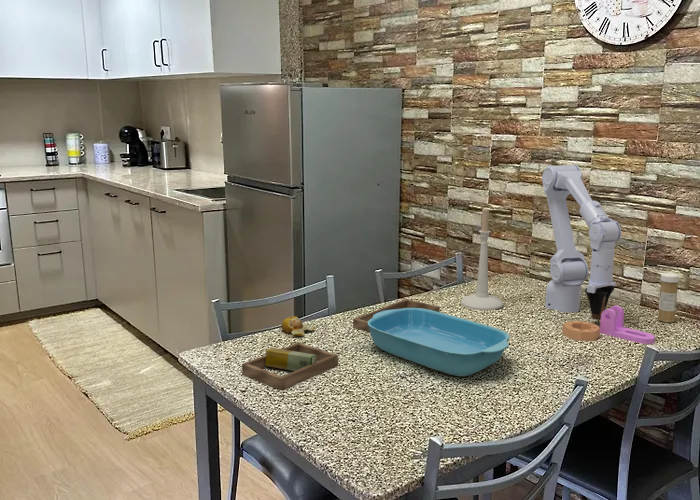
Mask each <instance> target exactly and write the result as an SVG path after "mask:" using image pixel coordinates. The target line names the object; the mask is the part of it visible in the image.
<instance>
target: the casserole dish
mask: <svg viewBox="0 0 700 500" xmlns="http://www.w3.org/2000/svg"><path fill="white" fill-rule="evenodd" d="M368 327H369V330H370V332H369V333H370V335H371V339H372V341H373V343H374V344H375V345H376V346H377V347H378V348H379V349H380V350H382V351H384V352H385V353H388V354H390V355H393V356H395V357H398V358H401V359H404V360H406V361H409V362H412V363H415V364H418V365H420V366H423V367H425V368H428V369H432V370H435V371H438V372H440V373H444V374H447V375H450V376H455V377H456V376H457V377H468V376H471V375H473V374H476V373H479V372H481V371H482V370H484V369H486V368H488V367H490V366H492V365H493V364H495V363H497V362H498V361H499V360H500V359H501V357H502V355H503V354H504V351H505V350H506V349H508V348H509V346H510V345H509V340H510V334H509V333H508V332H506V331H505V330H502V329H499V328H497V327H494V326H489V325H488V324H483V323H479V322H476V321H473V320H469V319H466V318H461V317H458V316H454V315H451V314H447V313H443V312H441V311H440V312H436V311H432V310H428V309H422V308H403V309H393V310H385V311H381V312H378V313H376V314H374V315H373V318H372V319H370V320H369V321H368Z"/></svg>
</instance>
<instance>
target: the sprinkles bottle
mask: <svg viewBox="0 0 700 500" xmlns="http://www.w3.org/2000/svg"><path fill="white" fill-rule="evenodd" d="M679 280H680V275H679V274H677V273H672V272H662V273H661V274H660V291H659V298H658V314H657V320H658V321H660V322H664V323H674V322H675V321H676V310H677V303H678V302H677V300H678V286H679V282H680V281H679Z"/></svg>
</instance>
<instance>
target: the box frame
mask: <svg viewBox="0 0 700 500" xmlns="http://www.w3.org/2000/svg"><path fill="white" fill-rule="evenodd" d="M282 349H283V350H289V351H295V352H302V353H308V354H315V355H317V357H316V362H315V363H314V364H313V365H308V366H306V367H303V368H301V369H299V370H296V371H292V372H290V373H287V374H285V375H283V376H281V375H279V374H276V373H274V372H270V371H268V370H266V369H265V368H268V367H269V366H266V354H265V355H264V354H263V355H262V356H259V357H257V358H254V359H251V360H249V361H245V362H243V363H242V364H241V370H242V371H241V374H242V376H246V377H247V378H251V379H253V380H256V381H257V382H261V383H263V384H266V385H268V386H271V387H272V388H273V387H274V388H276V389H278V390H280V391H283V390H285V389H288V388H290V387H292V386H294V385H298V384H299V383H301V382H304V381H306V380H308V379H310V378H312V377H314V376H316V375H317V376H318V375H319V374H321V373H324V372H326V371H329V370H330V369H332V368H335V367H337V366H339V355H338V354H335V353H332V352H329V351H326V350H323V349H320V348H317V347H314V346H310V345H308V344H305V343H301V342H297V343H294V344H292V345H291V344H290V345H289V346H285V347H283V348H282Z"/></svg>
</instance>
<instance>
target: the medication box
mask: <svg viewBox="0 0 700 500" xmlns="http://www.w3.org/2000/svg"><path fill="white" fill-rule="evenodd" d="M265 355H266V366H268V367H271V368H275V369H281V370H286V371H292V372H294V371H296V370H299V369H301V368H303V367H306V366H308V365H313V364H314V363H315V362H317V360H316V357H317V355H315V354H308V353H302V352H295V351H289V350H283V348H276V347H270V348H267V349H266V350H265Z"/></svg>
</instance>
